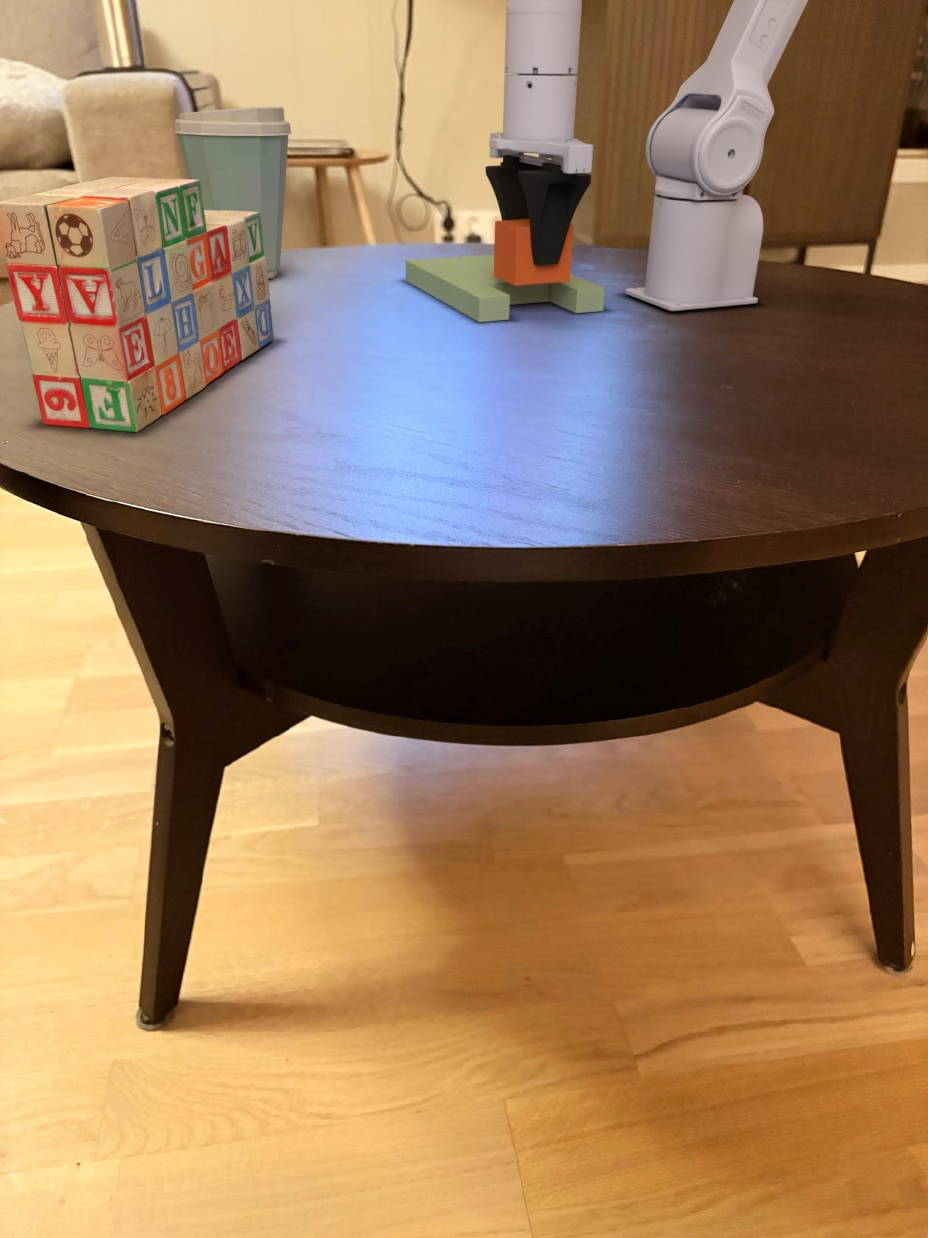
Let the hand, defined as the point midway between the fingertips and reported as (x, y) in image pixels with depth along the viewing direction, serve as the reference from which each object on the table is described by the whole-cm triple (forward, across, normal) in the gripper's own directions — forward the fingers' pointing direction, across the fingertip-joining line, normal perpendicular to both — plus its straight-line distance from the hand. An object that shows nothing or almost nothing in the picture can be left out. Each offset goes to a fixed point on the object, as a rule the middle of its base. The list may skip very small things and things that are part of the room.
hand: (532, 258), depth 79 cm
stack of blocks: (+4, +10, -32) cm, 34 cm away
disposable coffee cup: (+4, -24, -20) cm, 31 cm away
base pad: (+4, -6, 0) cm, 8 cm away
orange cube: (+2, 0, 0) cm, 2 cm away
